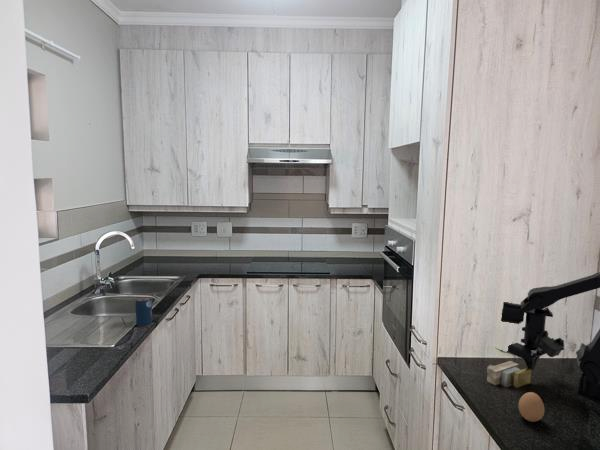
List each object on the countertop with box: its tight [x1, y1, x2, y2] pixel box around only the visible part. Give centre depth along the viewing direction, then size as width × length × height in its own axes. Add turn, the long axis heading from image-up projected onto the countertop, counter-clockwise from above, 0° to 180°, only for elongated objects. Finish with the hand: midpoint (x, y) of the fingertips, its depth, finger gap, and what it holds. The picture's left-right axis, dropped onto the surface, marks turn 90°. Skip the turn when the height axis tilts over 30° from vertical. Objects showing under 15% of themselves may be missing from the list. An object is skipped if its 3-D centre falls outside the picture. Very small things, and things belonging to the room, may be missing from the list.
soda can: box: [134, 296, 153, 328], centre depth 183 cm, size 7×7×12 cm
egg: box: [518, 391, 545, 423], centre depth 116 cm, size 6×6×8 cm
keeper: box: [513, 367, 532, 389], centre depth 136 cm, size 1×7×5 cm, turn 118°
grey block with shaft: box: [486, 364, 522, 388], centre depth 140 cm, size 9×7×5 cm
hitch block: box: [486, 360, 520, 386], centre depth 139 cm, size 3×12×5 cm, turn 118°
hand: (530, 370), depth 138 cm, fingers closed
